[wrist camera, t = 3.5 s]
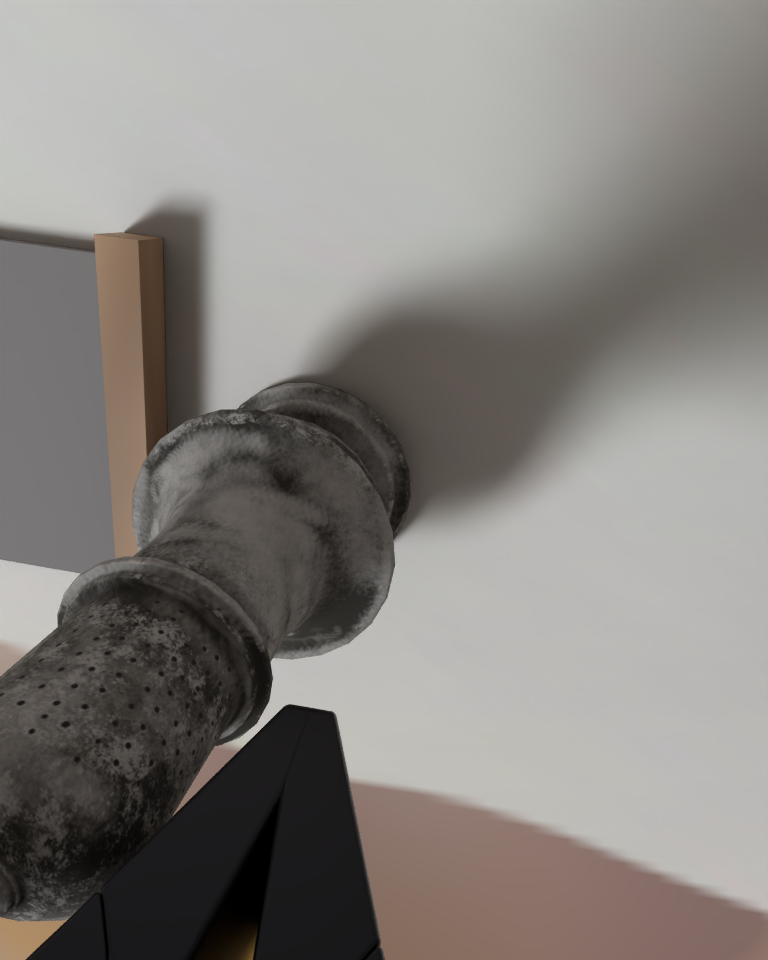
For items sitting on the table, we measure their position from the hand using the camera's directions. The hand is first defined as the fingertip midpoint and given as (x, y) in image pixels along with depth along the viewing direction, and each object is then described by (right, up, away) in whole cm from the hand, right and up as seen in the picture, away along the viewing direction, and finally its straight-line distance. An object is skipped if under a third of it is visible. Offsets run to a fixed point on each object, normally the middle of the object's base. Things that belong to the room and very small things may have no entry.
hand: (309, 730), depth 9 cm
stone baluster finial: (-1, +4, +8) cm, 9 cm away
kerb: (-5, +4, +8) cm, 11 cm away
